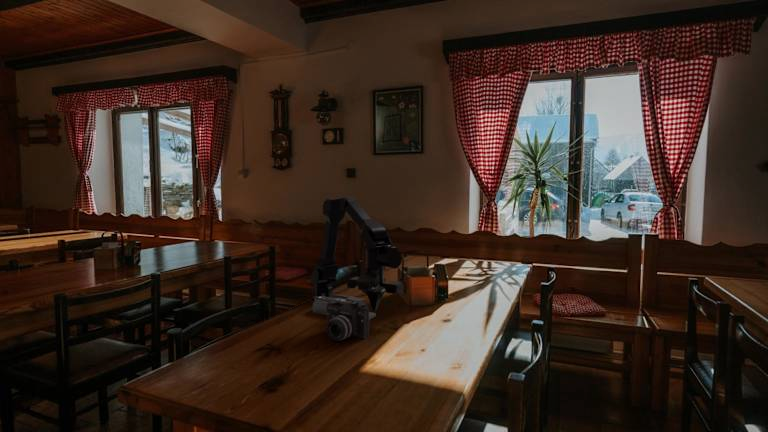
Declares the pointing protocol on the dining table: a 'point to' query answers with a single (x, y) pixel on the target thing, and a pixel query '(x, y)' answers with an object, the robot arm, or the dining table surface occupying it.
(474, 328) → the dining table surface
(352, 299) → the clip
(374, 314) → the clip rail
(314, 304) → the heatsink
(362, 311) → the camera
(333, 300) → the light grey flat bar
